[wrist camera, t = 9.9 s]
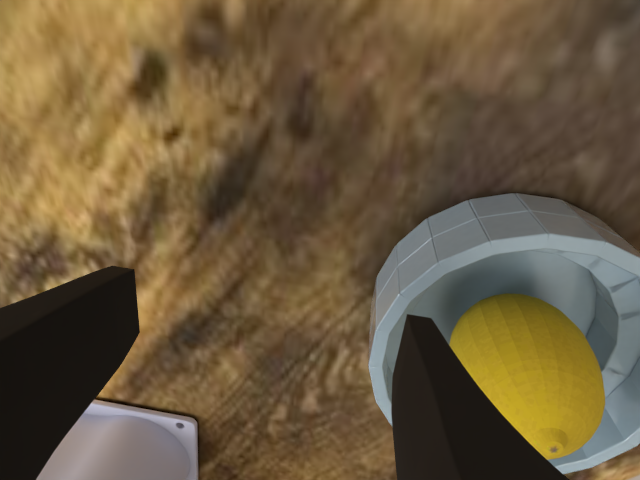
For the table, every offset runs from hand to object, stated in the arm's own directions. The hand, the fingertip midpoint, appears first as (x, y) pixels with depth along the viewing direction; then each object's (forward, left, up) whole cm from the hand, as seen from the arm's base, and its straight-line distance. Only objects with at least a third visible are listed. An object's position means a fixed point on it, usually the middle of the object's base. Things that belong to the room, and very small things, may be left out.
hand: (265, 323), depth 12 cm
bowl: (+10, -4, -10) cm, 15 cm away
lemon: (+10, -4, -10) cm, 15 cm away
